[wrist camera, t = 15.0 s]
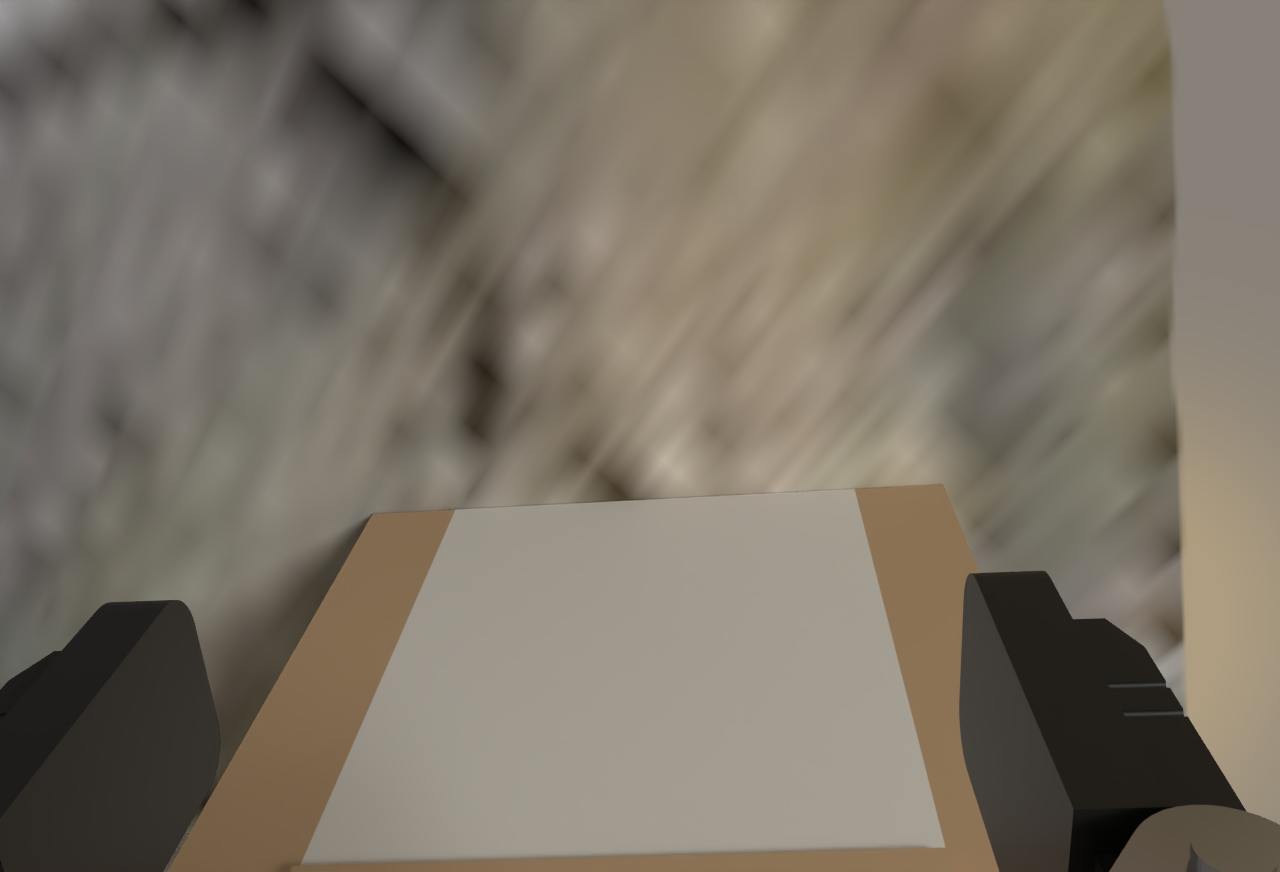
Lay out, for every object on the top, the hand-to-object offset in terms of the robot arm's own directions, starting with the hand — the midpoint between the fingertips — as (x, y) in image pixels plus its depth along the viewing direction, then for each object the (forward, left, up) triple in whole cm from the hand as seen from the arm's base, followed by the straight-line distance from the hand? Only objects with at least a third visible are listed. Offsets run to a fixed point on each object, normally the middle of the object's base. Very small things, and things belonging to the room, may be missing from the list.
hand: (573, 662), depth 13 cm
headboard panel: (-1, -12, -28) cm, 30 cm away
